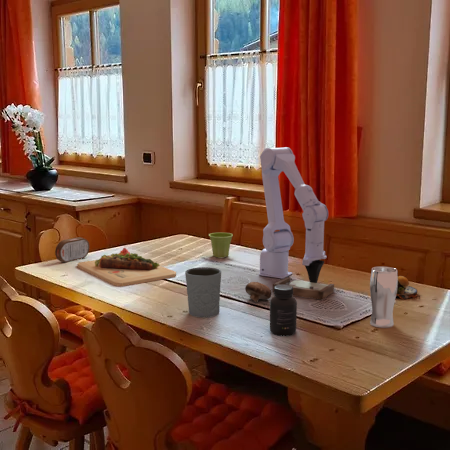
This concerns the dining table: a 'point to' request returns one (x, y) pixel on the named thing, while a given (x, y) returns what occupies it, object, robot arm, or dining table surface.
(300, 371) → the dining table surface
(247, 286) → the mushroom
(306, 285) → the door
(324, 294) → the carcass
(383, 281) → the beer glass
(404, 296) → the salad plate
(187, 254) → the dining table surface
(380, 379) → the dining table surface
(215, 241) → the plant pot
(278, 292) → the supplement bottle
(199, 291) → the grey tapered cup
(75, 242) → the tin
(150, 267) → the cutting board
